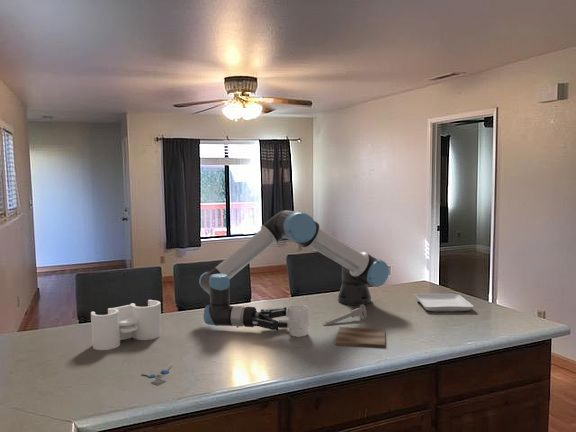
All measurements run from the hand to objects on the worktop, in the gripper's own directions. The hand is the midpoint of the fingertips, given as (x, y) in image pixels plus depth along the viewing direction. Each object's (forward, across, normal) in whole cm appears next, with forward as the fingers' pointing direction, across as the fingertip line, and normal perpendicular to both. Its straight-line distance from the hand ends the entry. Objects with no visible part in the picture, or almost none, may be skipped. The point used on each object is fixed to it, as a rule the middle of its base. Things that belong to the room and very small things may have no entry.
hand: (300, 319), depth 180 cm
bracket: (-60, +16, -6) cm, 63 cm away
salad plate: (+56, -48, -6) cm, 74 cm away
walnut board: (+22, +1, -6) cm, 23 cm away
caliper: (+15, -18, -6) cm, 25 cm away
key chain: (-37, +44, -6) cm, 57 cm away
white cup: (-1, 0, -6) cm, 6 cm away
